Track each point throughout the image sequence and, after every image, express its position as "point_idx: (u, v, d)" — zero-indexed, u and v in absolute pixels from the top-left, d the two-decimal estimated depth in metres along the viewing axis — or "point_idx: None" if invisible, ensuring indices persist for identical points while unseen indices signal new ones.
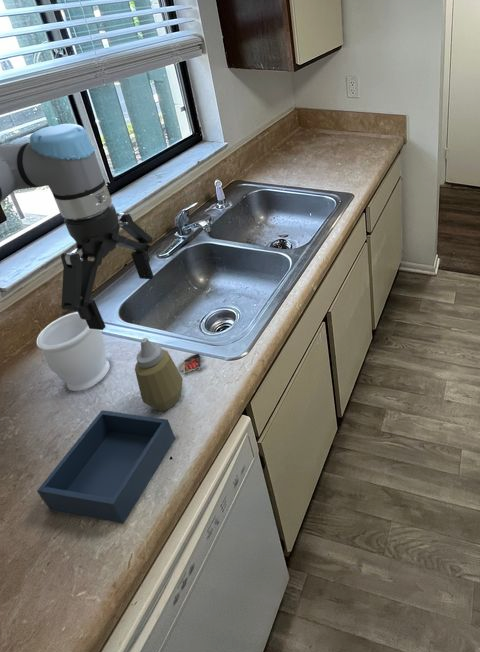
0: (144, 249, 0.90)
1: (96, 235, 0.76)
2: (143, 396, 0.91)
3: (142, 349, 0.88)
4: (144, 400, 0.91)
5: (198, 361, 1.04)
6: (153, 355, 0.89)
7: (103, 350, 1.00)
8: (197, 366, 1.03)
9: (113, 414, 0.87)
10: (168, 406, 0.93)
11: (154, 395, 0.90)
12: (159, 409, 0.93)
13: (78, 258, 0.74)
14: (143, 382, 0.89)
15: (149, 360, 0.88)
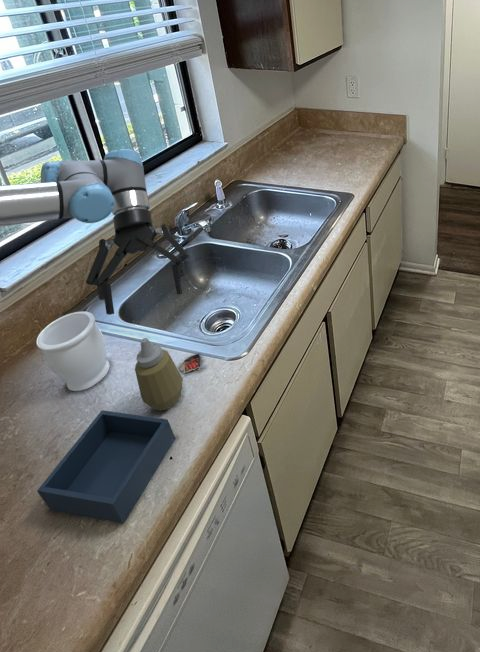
0: None
1: None
2: (143, 396, 0.91)
3: (142, 349, 0.88)
4: (144, 400, 0.91)
5: (198, 361, 1.04)
6: (153, 355, 0.89)
7: (103, 350, 1.00)
8: (197, 366, 1.03)
9: (113, 414, 0.87)
10: (168, 406, 0.93)
11: (154, 395, 0.90)
12: (159, 409, 0.93)
13: None
14: (143, 382, 0.89)
15: (149, 360, 0.88)
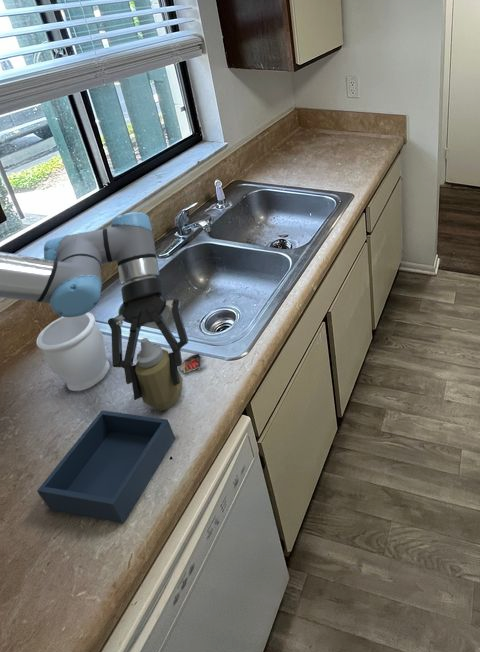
0: None
1: None
2: (143, 396, 0.91)
3: (142, 348, 0.88)
4: (144, 400, 0.91)
5: (198, 361, 1.04)
6: (153, 355, 0.89)
7: (103, 350, 1.00)
8: (197, 366, 1.03)
9: (113, 414, 0.87)
10: (168, 406, 0.93)
11: (154, 395, 0.90)
12: (159, 409, 0.93)
13: None
14: (143, 382, 0.89)
15: (149, 360, 0.88)
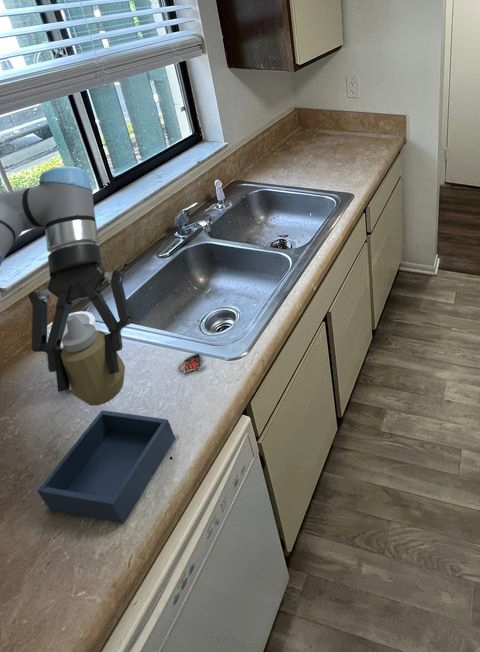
0: None
1: None
2: (72, 387, 0.74)
3: (68, 328, 0.71)
4: (73, 392, 0.74)
5: (198, 361, 1.04)
6: (83, 336, 0.72)
7: None
8: (197, 366, 1.03)
9: (113, 414, 0.87)
10: (105, 400, 0.76)
11: (85, 386, 0.73)
12: (93, 403, 0.76)
13: None
14: (71, 370, 0.72)
15: (77, 342, 0.71)
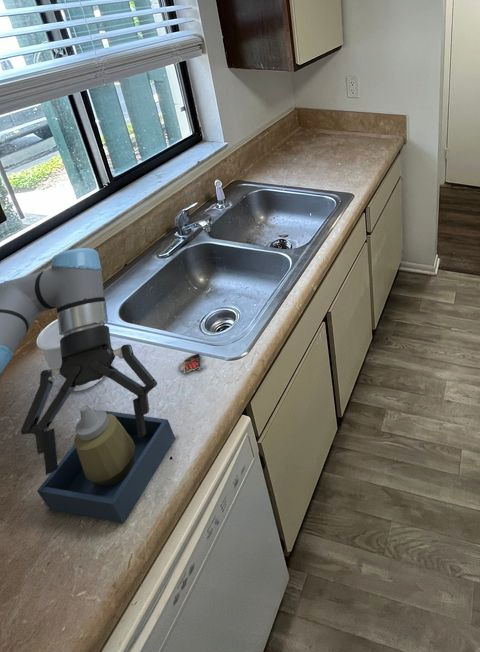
0: None
1: None
2: (85, 472, 0.77)
3: (82, 418, 0.75)
4: (86, 476, 0.77)
5: (198, 361, 1.04)
6: (95, 425, 0.76)
7: None
8: (197, 366, 1.03)
9: (113, 414, 0.87)
10: (116, 481, 0.80)
11: (97, 471, 0.77)
12: (105, 485, 0.79)
13: None
14: (84, 457, 0.75)
15: (90, 431, 0.75)
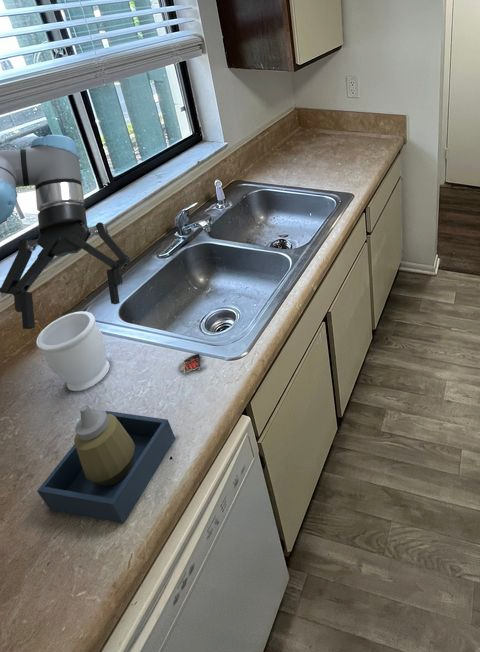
0: None
1: None
2: (85, 472, 0.77)
3: (82, 418, 0.75)
4: (86, 476, 0.77)
5: (198, 361, 1.04)
6: (95, 425, 0.76)
7: (103, 350, 1.00)
8: (197, 366, 1.03)
9: (113, 414, 0.87)
10: (116, 481, 0.80)
11: (97, 471, 0.77)
12: (105, 485, 0.79)
13: None
14: (84, 457, 0.75)
15: (90, 431, 0.75)
